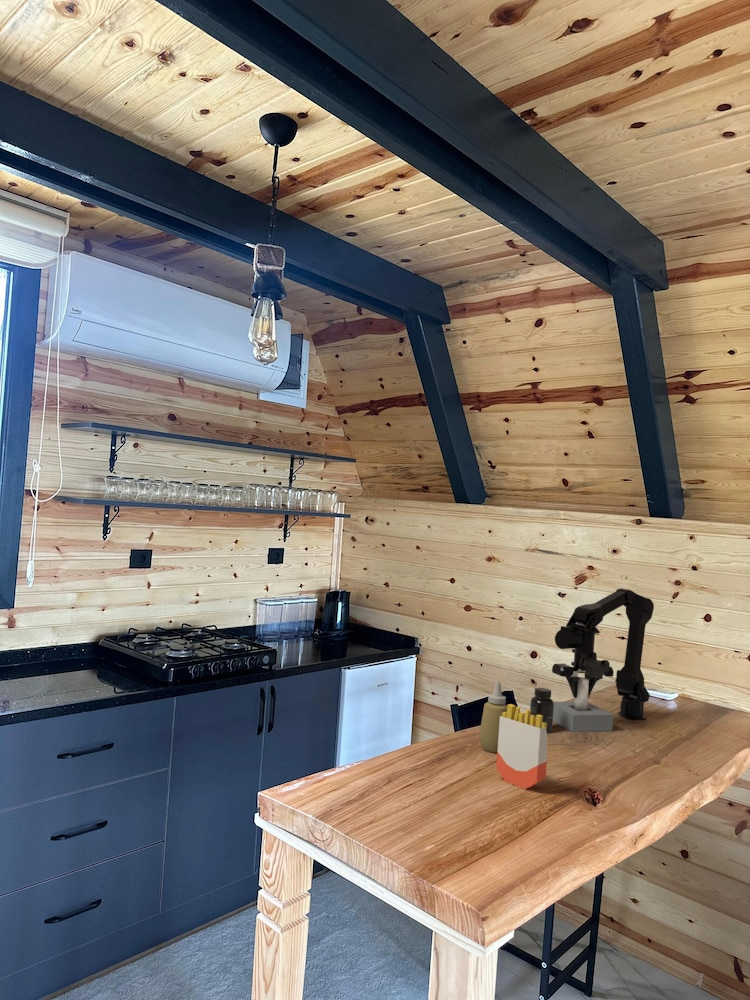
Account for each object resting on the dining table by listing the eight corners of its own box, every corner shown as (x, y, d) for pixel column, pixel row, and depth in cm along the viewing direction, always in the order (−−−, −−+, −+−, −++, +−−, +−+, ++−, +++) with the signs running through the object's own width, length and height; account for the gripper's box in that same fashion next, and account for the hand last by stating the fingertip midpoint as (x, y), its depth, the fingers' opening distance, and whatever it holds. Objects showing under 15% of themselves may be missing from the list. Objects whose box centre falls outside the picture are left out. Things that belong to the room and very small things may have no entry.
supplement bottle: (552, 734, 199) (555, 693, 200) (528, 731, 201) (531, 690, 201) (551, 727, 206) (554, 688, 206) (528, 724, 207) (531, 685, 208)
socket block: (585, 716, 221) (586, 701, 221) (612, 731, 207) (613, 714, 207) (547, 717, 217) (548, 701, 217) (572, 732, 203) (573, 715, 203)
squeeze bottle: (510, 747, 185) (515, 681, 185) (506, 757, 177) (511, 688, 178) (481, 742, 188) (485, 677, 188) (475, 751, 180) (480, 683, 180)
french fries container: (505, 773, 166) (511, 699, 166) (545, 788, 158) (551, 711, 159) (495, 778, 162) (500, 702, 163) (535, 793, 155) (541, 714, 155)
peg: (582, 708, 214) (584, 676, 215) (589, 712, 211) (591, 680, 211) (571, 708, 213) (573, 676, 213) (578, 712, 209) (580, 680, 210)
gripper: (572, 653, 202) (569, 705, 202) (626, 653, 207) (622, 704, 207) (552, 645, 213) (549, 695, 212) (604, 645, 218) (600, 694, 218)
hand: (581, 697), depth 212 cm, fingers closed on peg, 4 cm apart
